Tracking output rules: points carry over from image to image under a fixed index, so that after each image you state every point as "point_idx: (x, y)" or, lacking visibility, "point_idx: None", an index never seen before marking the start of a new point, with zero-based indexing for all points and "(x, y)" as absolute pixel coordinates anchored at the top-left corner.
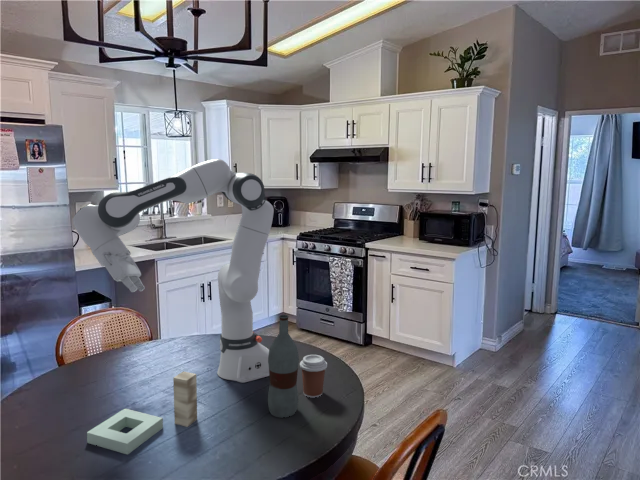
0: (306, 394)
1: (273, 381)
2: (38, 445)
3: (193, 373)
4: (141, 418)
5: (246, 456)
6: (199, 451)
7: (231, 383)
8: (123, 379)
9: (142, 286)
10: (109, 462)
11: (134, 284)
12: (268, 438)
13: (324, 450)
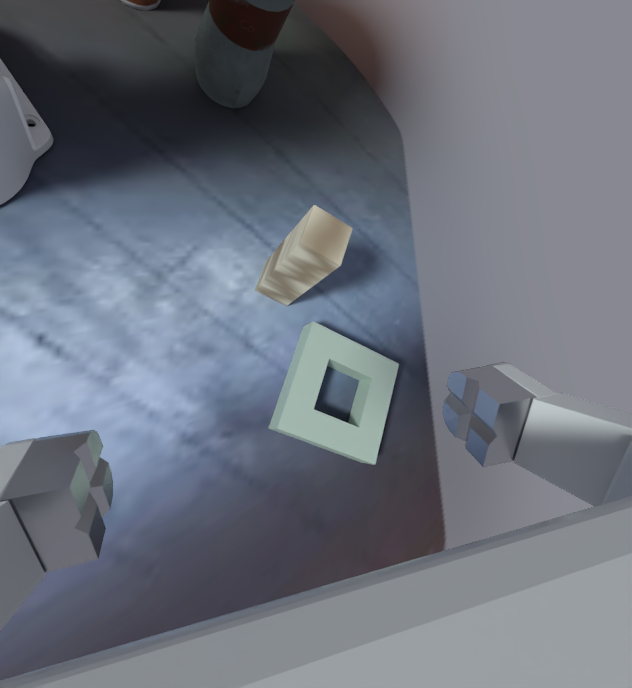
0: (153, 3)
1: (276, 33)
2: (376, 562)
3: (311, 212)
4: (318, 368)
5: (371, 174)
6: (366, 247)
7: (53, 175)
8: None
9: (75, 458)
10: (405, 389)
11: (514, 400)
12: (324, 132)
13: (348, 60)
